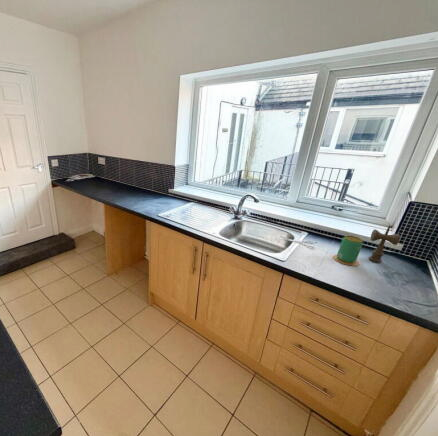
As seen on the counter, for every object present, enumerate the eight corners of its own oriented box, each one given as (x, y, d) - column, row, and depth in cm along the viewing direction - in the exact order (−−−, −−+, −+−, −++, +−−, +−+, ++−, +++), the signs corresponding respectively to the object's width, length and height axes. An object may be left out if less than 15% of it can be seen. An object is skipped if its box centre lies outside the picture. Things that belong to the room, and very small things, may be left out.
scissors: (317, 249, 134) (277, 240, 144) (317, 250, 135) (277, 241, 144) (317, 241, 143) (279, 233, 152) (316, 243, 143) (279, 234, 153)
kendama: (361, 255, 130) (375, 221, 122) (385, 260, 125) (401, 225, 118) (363, 260, 125) (378, 225, 118) (388, 266, 121) (405, 230, 113)
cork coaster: (349, 255, 130) (349, 254, 130) (365, 266, 120) (365, 265, 120) (327, 254, 131) (328, 254, 131) (341, 265, 120) (342, 264, 120)
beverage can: (342, 253, 130) (349, 233, 125) (359, 261, 123) (367, 240, 119) (332, 256, 127) (340, 236, 123) (349, 264, 120) (357, 243, 116)
